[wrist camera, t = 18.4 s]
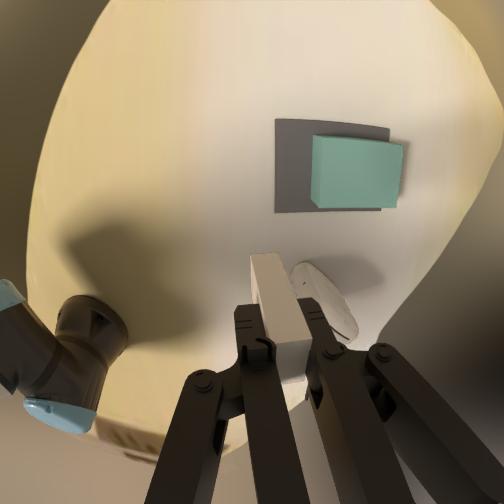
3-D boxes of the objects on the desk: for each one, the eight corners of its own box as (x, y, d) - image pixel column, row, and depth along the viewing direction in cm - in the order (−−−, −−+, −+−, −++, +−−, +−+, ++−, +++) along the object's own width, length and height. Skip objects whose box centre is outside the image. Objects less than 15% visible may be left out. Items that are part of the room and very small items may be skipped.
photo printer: (284, 274, 43) (302, 328, 32) (304, 256, 42) (329, 306, 31) (322, 304, 47) (345, 355, 36) (340, 288, 46) (368, 338, 35)
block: (319, 208, 33) (396, 207, 34) (322, 137, 29) (403, 146, 30) (310, 198, 37) (382, 198, 38) (312, 134, 33) (388, 141, 33)
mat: (274, 212, 38) (275, 213, 38) (274, 119, 32) (275, 119, 31) (379, 210, 39) (380, 210, 39) (388, 128, 33) (389, 128, 33)
